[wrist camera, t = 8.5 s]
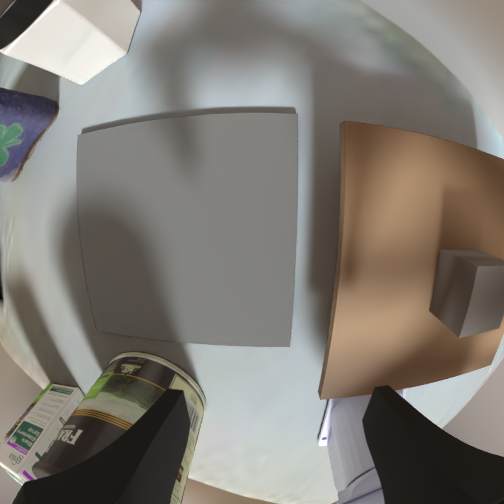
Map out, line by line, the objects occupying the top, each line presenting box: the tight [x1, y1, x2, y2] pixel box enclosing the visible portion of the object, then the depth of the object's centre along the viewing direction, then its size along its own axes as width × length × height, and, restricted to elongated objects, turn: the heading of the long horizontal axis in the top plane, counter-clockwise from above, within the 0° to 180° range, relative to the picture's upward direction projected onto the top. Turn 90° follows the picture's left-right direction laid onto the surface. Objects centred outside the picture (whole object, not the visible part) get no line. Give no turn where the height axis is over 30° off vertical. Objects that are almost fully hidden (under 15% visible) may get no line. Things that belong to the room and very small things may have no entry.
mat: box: [77, 113, 298, 347], centre depth 18 cm, size 16×16×1 cm
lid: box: [318, 121, 504, 400], centre depth 11 cm, size 15×15×4 cm
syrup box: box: [0, 383, 85, 486], centre depth 17 cm, size 6×6×14 cm
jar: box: [0, 0, 140, 85], centre depth 9 cm, size 9×8×12 cm
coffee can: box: [32, 352, 206, 504], centre depth 15 cm, size 10×10×14 cm
